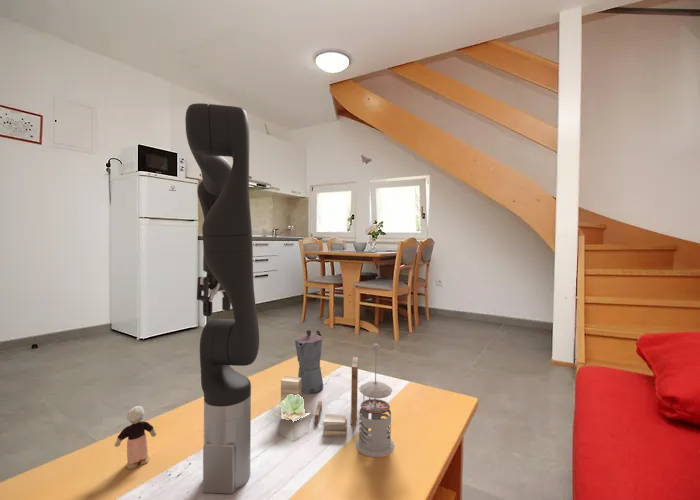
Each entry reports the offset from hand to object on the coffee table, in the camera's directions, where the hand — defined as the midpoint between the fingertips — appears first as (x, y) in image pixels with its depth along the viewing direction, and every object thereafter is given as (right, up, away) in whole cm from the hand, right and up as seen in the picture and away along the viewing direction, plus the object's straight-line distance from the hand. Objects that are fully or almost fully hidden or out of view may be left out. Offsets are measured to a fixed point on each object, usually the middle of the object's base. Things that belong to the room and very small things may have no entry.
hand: (217, 312), depth 92 cm
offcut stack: (+33, -30, -4) cm, 45 cm away
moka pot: (+23, -30, +23) cm, 44 cm away
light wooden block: (+20, -30, +3) cm, 36 cm away
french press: (+42, -31, -9) cm, 53 cm away
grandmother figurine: (-11, -30, -18) cm, 37 cm away
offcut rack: (+33, -30, +3) cm, 45 cm away
